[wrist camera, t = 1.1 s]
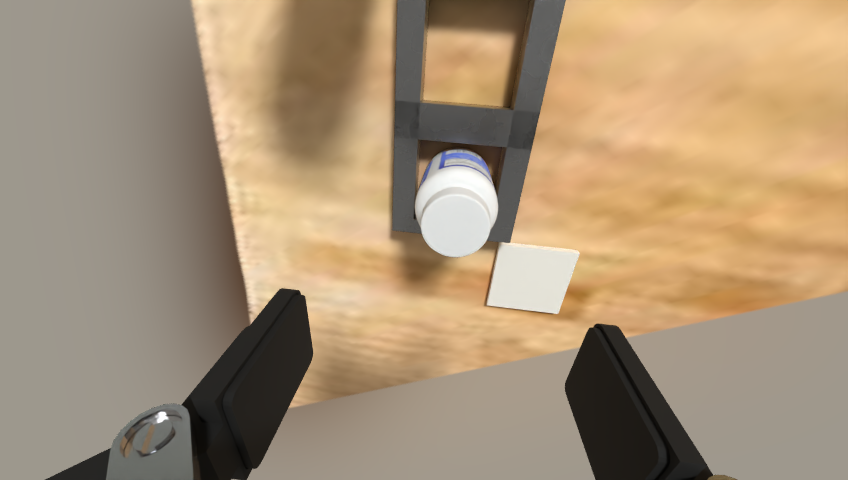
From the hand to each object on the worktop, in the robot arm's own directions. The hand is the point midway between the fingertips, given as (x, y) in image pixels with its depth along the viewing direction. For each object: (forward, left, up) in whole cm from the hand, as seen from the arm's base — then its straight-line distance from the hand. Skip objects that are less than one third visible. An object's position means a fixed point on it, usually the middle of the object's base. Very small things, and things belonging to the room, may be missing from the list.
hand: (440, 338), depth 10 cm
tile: (-8, +9, -18) cm, 22 cm away
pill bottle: (0, 0, -18) cm, 18 cm away
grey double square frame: (0, -5, -18) cm, 18 cm away
